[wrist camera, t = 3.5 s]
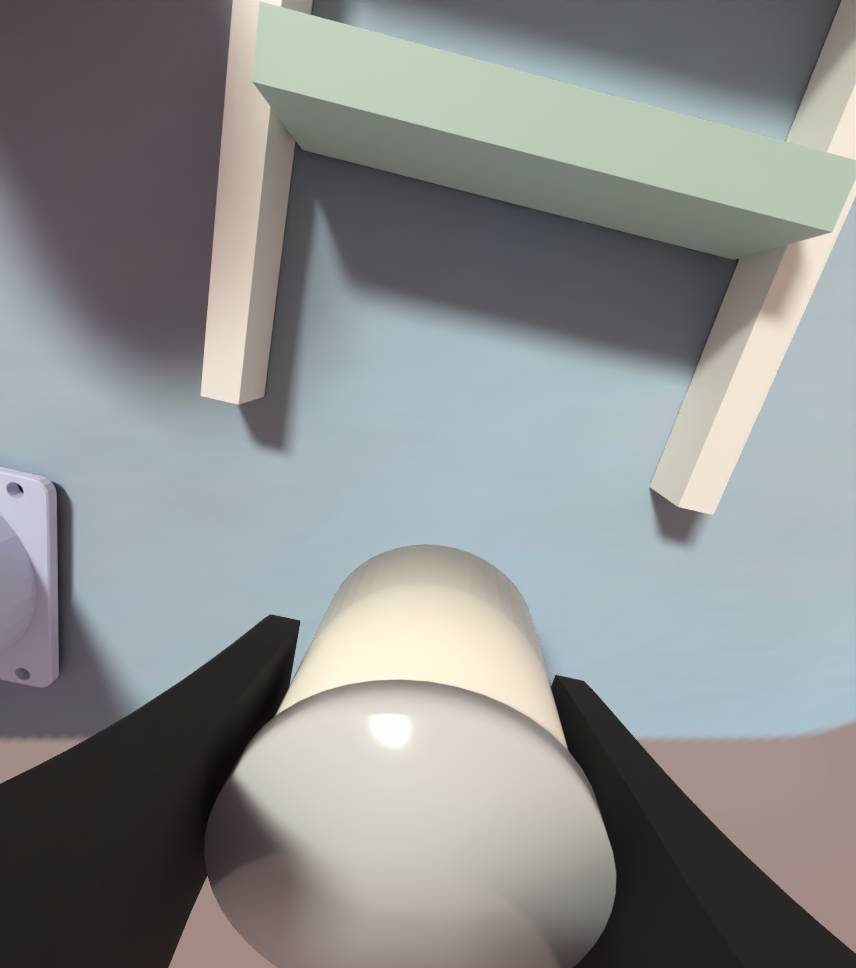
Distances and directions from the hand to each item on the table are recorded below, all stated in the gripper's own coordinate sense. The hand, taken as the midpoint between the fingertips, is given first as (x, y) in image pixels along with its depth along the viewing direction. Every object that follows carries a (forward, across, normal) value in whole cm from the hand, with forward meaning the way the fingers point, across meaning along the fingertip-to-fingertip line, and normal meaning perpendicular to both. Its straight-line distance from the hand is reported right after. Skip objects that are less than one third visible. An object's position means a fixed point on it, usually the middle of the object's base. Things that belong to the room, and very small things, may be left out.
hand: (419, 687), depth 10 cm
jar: (+2, 0, 0) cm, 2 cm away
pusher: (+6, 0, -11) cm, 12 cm away
